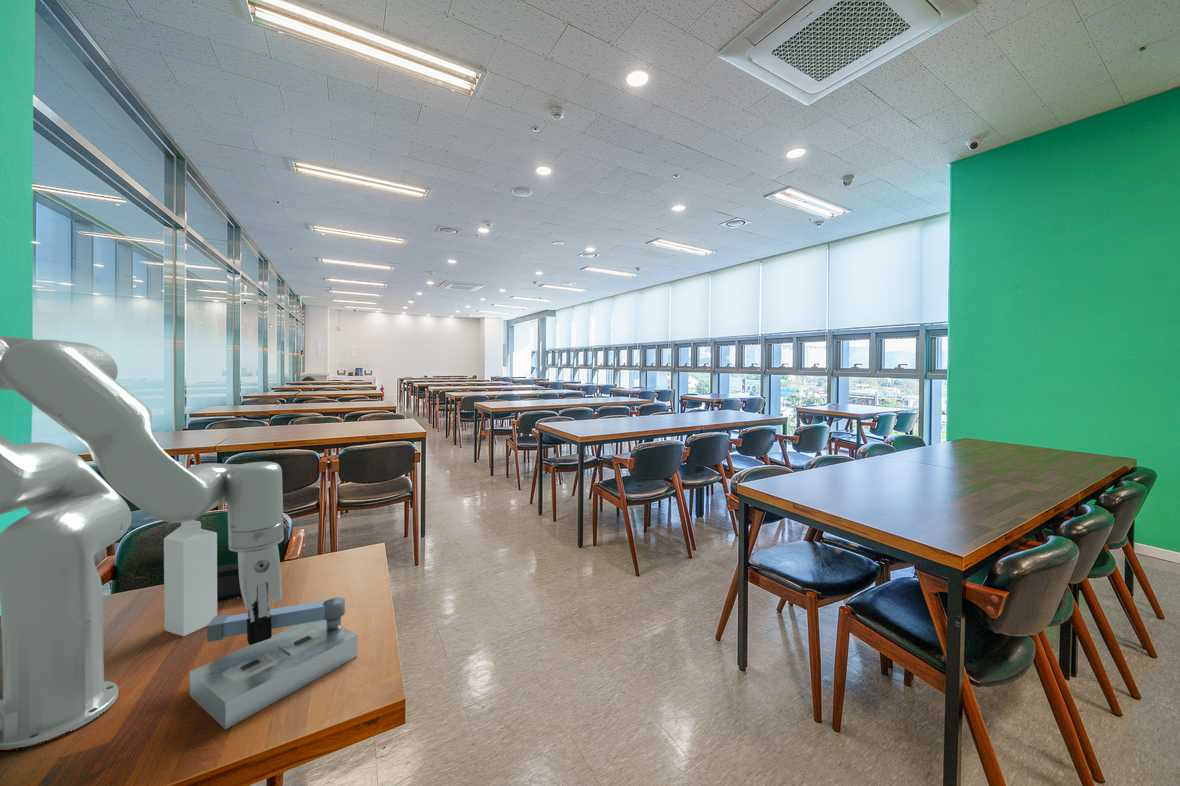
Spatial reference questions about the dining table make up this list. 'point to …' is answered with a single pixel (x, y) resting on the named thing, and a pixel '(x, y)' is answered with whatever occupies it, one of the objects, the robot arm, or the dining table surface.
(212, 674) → the plate
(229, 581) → the digital camera
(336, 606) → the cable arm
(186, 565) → the milk
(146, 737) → the dining table surface
